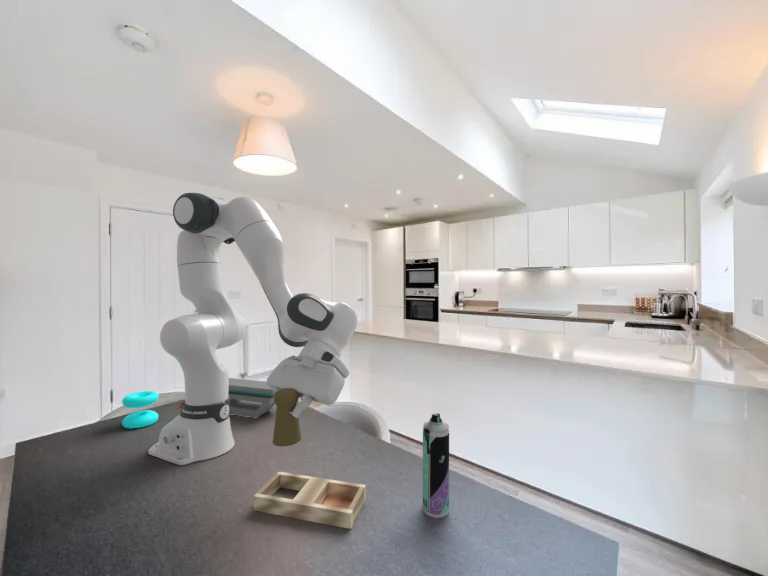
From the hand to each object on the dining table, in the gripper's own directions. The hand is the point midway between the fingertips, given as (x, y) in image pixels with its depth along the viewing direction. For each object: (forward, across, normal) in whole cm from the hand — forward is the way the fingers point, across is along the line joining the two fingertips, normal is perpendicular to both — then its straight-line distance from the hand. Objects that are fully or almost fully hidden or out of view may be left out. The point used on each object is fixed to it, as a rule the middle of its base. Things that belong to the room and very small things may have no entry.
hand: (284, 413), depth 72 cm
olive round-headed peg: (+4, 0, +5) cm, 6 cm away
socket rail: (+12, +6, +15) cm, 20 cm away
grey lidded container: (-5, -52, +32) cm, 61 cm away
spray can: (+2, +28, +25) cm, 38 cm away
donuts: (+14, -73, +14) cm, 76 cm away
